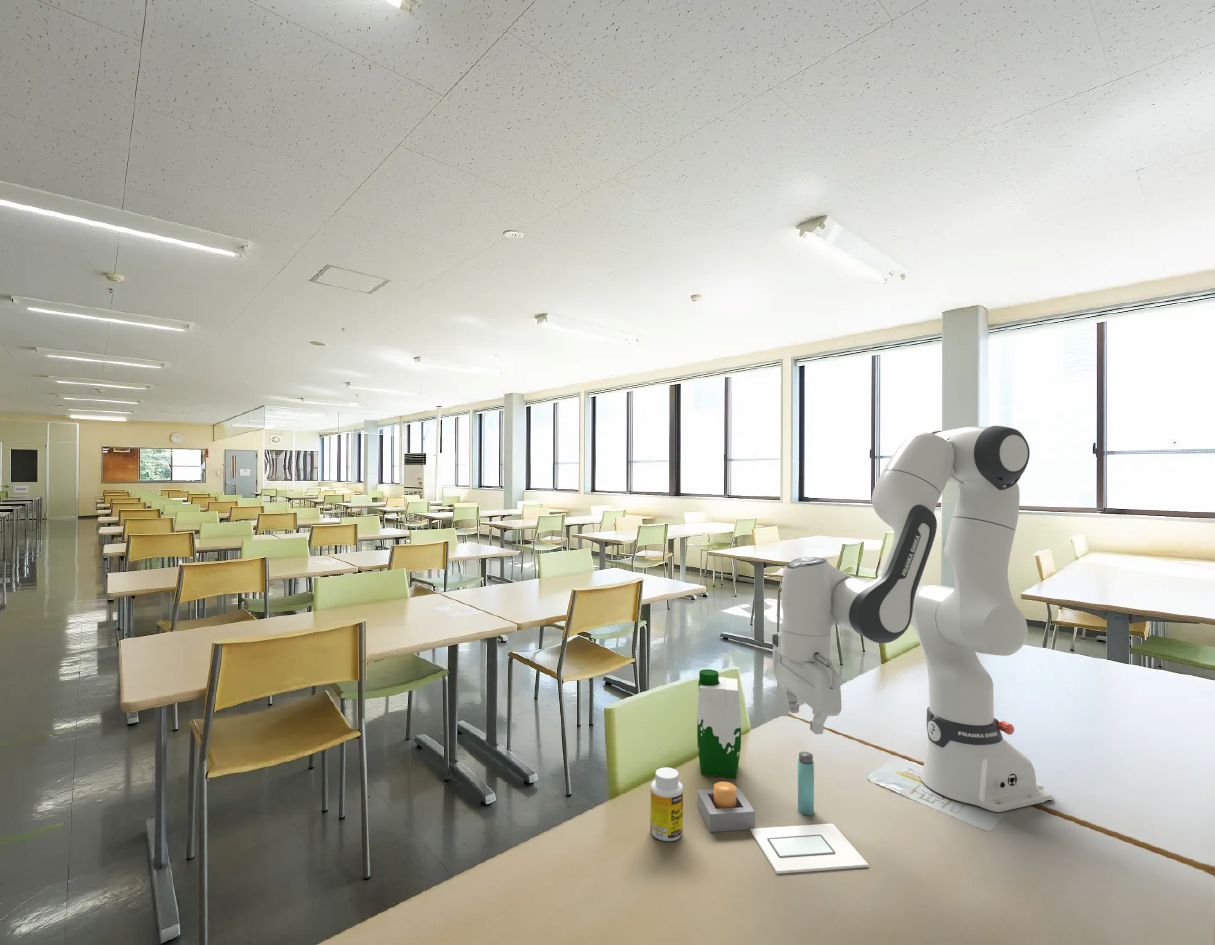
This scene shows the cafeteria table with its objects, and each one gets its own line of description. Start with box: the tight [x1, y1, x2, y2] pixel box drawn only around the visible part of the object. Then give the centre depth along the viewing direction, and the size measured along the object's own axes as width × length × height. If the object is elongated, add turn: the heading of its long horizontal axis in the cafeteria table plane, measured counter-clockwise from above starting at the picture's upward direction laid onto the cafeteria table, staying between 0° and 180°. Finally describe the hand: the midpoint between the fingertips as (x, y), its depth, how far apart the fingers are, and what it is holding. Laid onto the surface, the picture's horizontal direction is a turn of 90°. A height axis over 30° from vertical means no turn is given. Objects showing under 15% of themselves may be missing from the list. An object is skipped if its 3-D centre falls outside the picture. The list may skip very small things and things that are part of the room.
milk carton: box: [696, 669, 742, 779], centre depth 121 cm, size 9×9×20 cm
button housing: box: [696, 787, 756, 833], centre depth 103 cm, size 8×8×3 cm
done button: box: [713, 781, 738, 809], centre depth 103 cm, size 4×4×3 cm
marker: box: [797, 751, 815, 816], centre depth 105 cm, size 3×3×10 cm
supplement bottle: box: [649, 766, 684, 842], centre depth 98 cm, size 6×6×10 cm
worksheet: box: [749, 823, 869, 875], centre depth 94 cm, size 15×11×1 cm
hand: (804, 721), depth 106 cm, fingers open, 8 cm apart
